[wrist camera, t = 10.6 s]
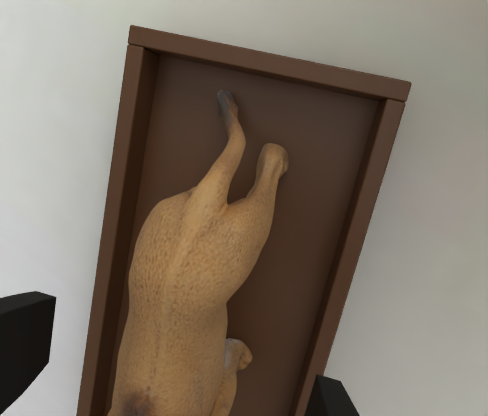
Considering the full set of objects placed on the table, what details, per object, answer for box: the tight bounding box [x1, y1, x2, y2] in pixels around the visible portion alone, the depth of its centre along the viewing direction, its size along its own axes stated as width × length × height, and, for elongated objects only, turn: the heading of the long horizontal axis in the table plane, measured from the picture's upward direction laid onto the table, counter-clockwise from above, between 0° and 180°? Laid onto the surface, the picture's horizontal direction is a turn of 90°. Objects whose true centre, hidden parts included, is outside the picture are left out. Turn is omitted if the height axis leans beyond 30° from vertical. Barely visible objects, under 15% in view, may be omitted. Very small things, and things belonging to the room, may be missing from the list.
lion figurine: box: [107, 90, 289, 416], centre depth 11 cm, size 15×5×9 cm, turn 178°
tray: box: [76, 25, 412, 416], centre depth 15 cm, size 17×9×2 cm, turn 168°
